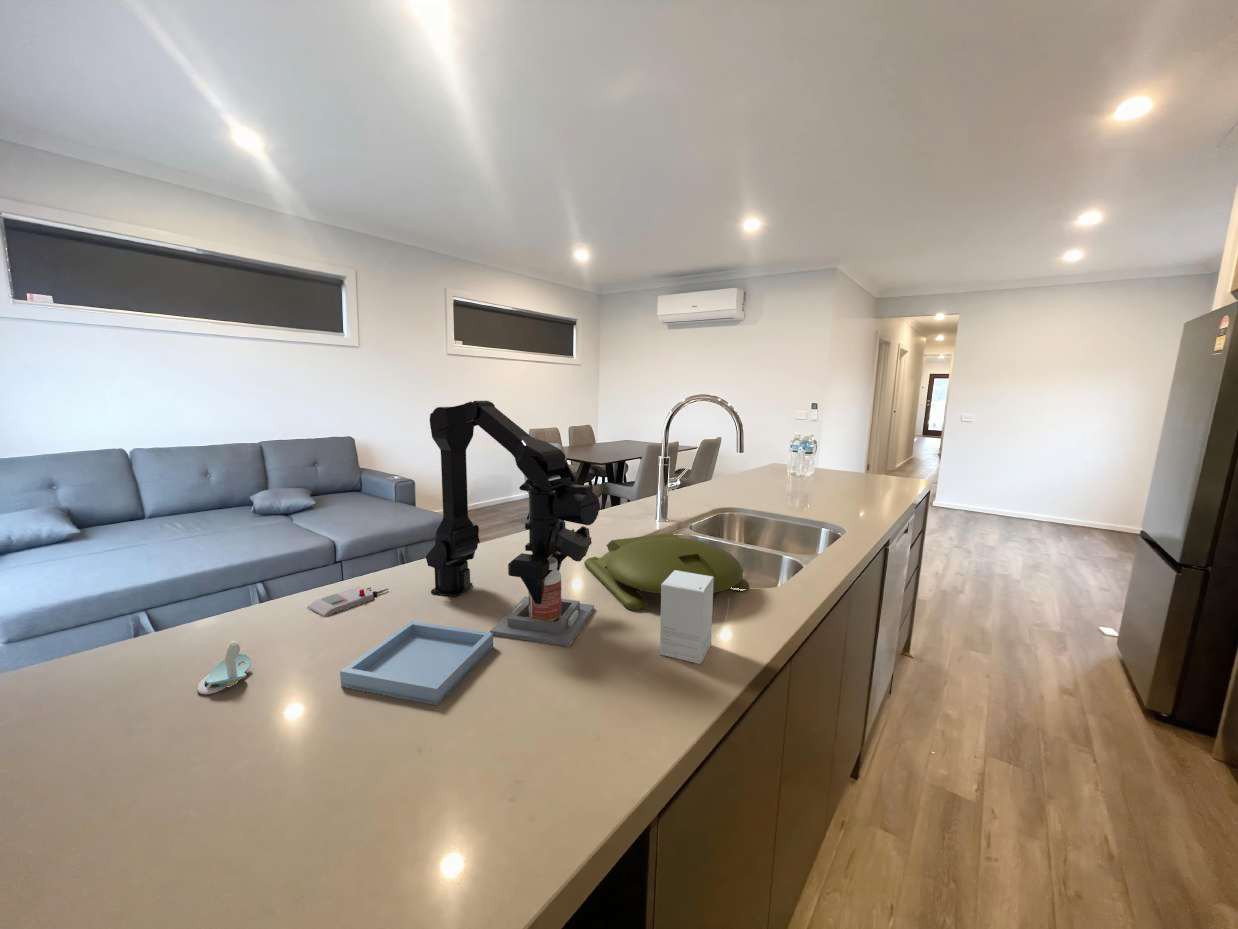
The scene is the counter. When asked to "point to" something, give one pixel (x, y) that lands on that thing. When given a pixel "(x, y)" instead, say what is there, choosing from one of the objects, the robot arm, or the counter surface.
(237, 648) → the pacifier
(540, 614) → the pill bottle
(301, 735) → the counter surface
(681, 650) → the supplement box
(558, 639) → the grey square frame
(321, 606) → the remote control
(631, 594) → the spaceship
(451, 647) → the tray
